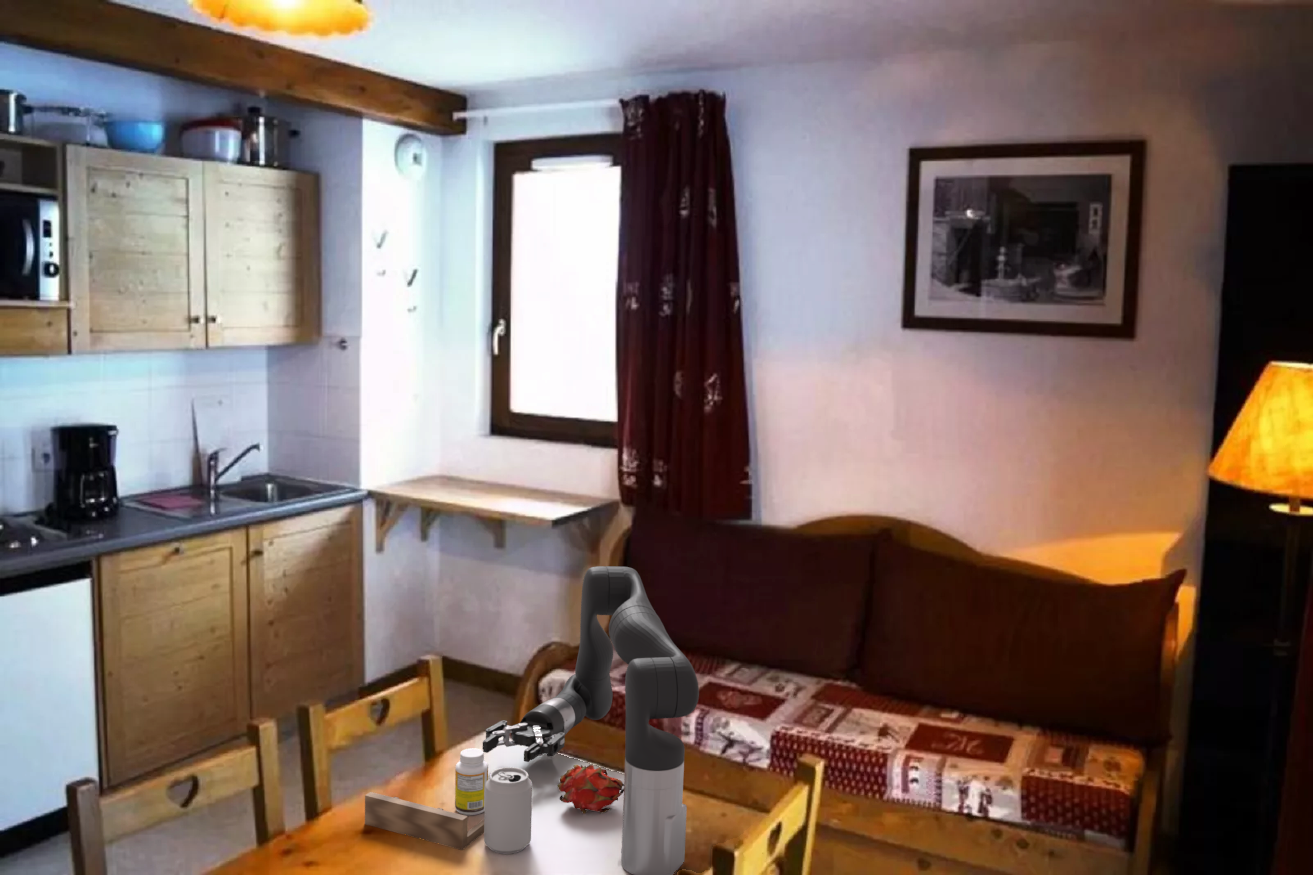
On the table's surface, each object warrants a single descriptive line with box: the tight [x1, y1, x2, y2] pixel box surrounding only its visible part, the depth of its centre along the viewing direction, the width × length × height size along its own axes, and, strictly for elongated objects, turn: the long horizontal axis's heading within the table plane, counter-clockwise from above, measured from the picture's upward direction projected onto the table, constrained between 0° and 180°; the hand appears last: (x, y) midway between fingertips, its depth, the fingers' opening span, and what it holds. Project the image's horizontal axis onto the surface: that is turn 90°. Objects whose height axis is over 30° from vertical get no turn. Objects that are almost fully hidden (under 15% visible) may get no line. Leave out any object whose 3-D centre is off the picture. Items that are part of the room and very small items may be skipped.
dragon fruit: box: [557, 764, 624, 815], centre depth 191 cm, size 8×8×12 cm
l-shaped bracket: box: [364, 791, 484, 851], centre depth 182 cm, size 19×8×5 cm, turn 67°
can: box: [483, 766, 533, 855], centre depth 177 cm, size 8×8×12 cm
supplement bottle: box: [454, 747, 489, 816], centre depth 189 cm, size 6×6×10 cm
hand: (505, 752), depth 199 cm, fingers open, 8 cm apart
